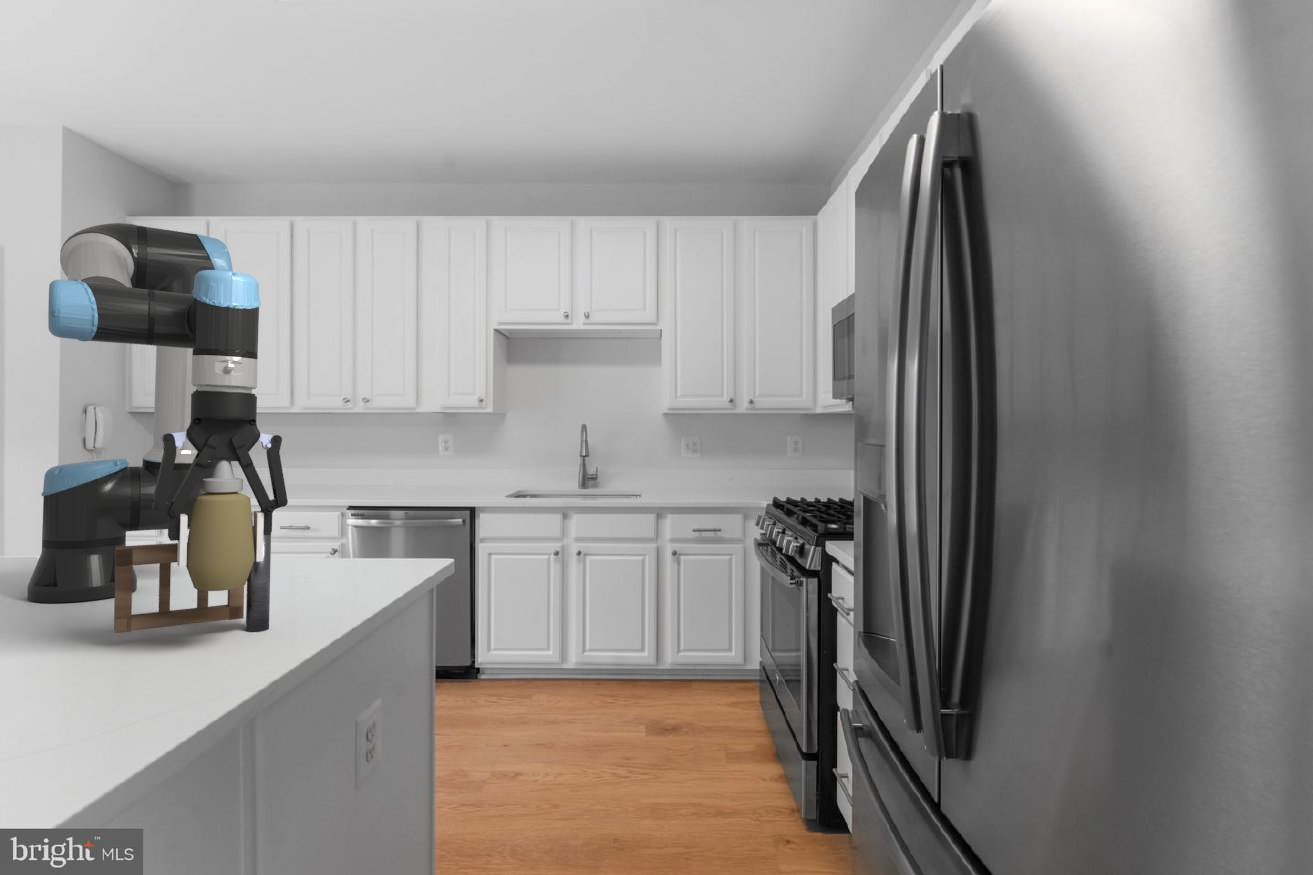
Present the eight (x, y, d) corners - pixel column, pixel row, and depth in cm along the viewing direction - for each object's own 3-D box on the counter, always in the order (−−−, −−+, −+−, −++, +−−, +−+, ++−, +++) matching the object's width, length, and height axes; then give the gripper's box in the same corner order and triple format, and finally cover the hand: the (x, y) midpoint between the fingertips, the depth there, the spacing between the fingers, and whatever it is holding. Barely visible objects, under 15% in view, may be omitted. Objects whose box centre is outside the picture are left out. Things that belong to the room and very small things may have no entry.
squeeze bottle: (223, 596, 94) (226, 453, 93) (168, 591, 95) (171, 451, 95) (268, 583, 102) (271, 451, 101) (217, 579, 103) (220, 449, 103)
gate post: (244, 628, 109) (246, 526, 109) (266, 625, 111) (268, 524, 111) (247, 632, 107) (249, 528, 107) (271, 629, 108) (273, 527, 109)
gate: (113, 630, 99) (115, 546, 99) (241, 616, 108) (242, 539, 108) (114, 633, 98) (116, 548, 98) (243, 618, 107) (245, 540, 107)
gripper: (129, 385, 89) (125, 575, 89) (316, 394, 101) (312, 560, 102) (126, 386, 95) (122, 564, 95) (303, 395, 107) (299, 552, 108)
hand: (220, 562), depth 98 cm, fingers closed on squeeze bottle, 8 cm apart
